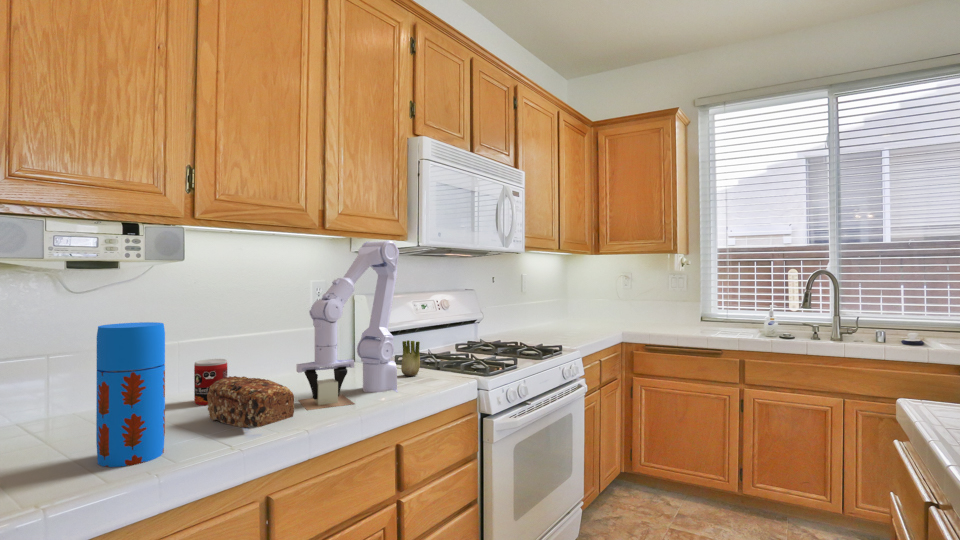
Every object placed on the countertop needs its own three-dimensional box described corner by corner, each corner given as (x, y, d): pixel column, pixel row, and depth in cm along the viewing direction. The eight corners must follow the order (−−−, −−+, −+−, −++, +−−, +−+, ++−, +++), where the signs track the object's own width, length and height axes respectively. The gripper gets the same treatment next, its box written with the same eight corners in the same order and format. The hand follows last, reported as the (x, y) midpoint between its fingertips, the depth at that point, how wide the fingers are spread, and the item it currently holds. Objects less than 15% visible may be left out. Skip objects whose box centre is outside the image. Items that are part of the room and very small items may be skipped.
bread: (205, 421, 123) (205, 379, 123) (245, 410, 132) (245, 371, 132) (257, 433, 114) (257, 387, 114) (296, 421, 123) (296, 378, 123)
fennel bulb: (421, 375, 176) (421, 340, 177) (412, 378, 172) (412, 341, 172) (408, 373, 180) (408, 338, 180) (398, 376, 175) (398, 340, 175)
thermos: (166, 459, 98) (167, 325, 98) (95, 472, 91) (96, 329, 92) (162, 443, 107) (162, 321, 107) (97, 454, 100) (97, 324, 100)
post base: (342, 398, 145) (342, 381, 145) (355, 407, 134) (355, 389, 134) (297, 403, 139) (297, 385, 139) (307, 414, 128) (307, 395, 128)
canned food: (188, 403, 139) (188, 362, 139) (215, 397, 146) (215, 357, 147) (206, 406, 136) (206, 364, 136) (233, 400, 143) (233, 359, 143)
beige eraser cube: (333, 398, 140) (333, 378, 140) (338, 402, 136) (338, 381, 136) (314, 401, 138) (314, 380, 138) (318, 405, 133) (318, 384, 133)
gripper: (349, 341, 144) (349, 391, 144) (294, 345, 137) (294, 397, 137) (356, 344, 138) (356, 396, 138) (299, 348, 130) (299, 403, 130)
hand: (326, 397), depth 137 cm, fingers closed on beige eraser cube, 5 cm apart
